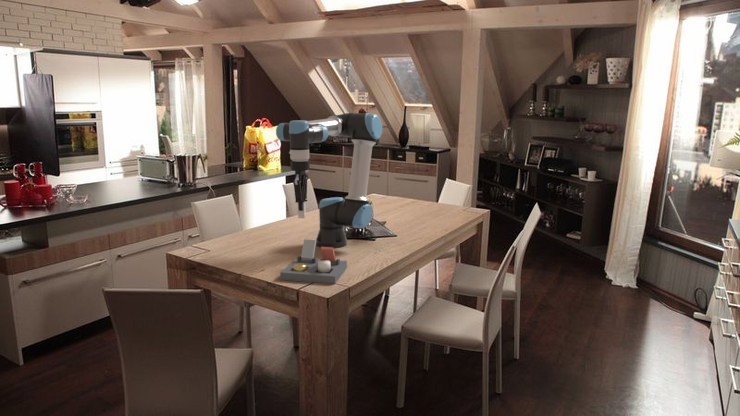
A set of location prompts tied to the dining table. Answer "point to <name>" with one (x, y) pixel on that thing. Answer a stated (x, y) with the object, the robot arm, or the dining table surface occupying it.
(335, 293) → the dining table surface
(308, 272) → the panel
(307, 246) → the paddle grey
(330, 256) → the paddle red
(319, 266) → the button white
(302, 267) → the button brass
